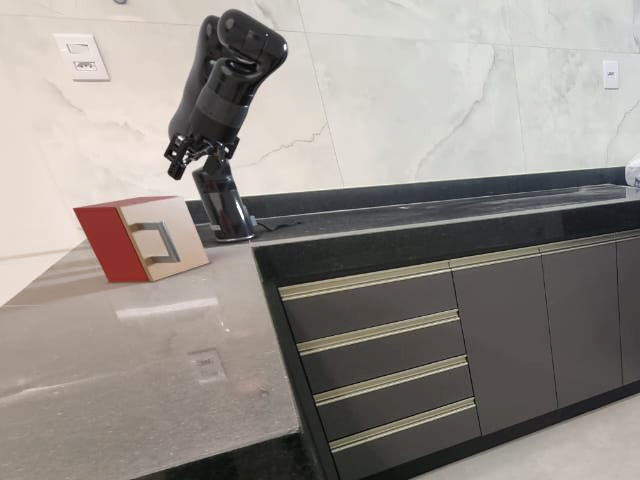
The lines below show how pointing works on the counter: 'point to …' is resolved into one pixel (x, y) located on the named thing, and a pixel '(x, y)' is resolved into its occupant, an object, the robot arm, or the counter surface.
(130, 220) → the wooden cabinet door
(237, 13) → the robot arm
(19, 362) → the counter surface
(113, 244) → the red cabinet
